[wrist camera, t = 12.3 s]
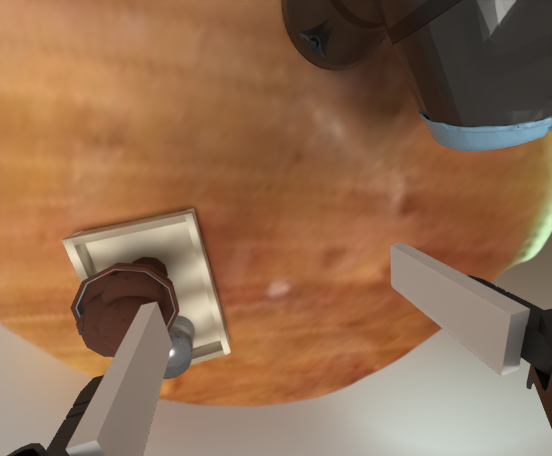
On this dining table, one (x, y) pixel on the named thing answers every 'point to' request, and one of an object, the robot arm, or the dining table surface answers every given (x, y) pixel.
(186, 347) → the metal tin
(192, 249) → the cream rectangular tray
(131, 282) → the ice cream bowl
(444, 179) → the dining table surface
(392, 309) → the dining table surface
